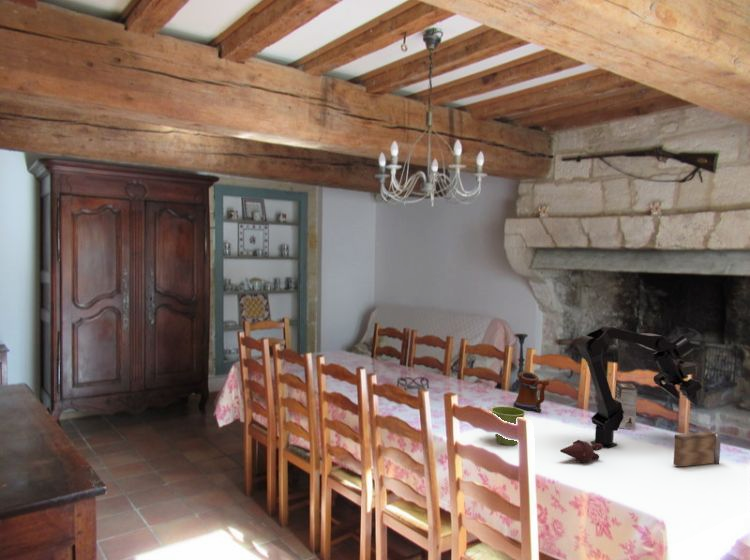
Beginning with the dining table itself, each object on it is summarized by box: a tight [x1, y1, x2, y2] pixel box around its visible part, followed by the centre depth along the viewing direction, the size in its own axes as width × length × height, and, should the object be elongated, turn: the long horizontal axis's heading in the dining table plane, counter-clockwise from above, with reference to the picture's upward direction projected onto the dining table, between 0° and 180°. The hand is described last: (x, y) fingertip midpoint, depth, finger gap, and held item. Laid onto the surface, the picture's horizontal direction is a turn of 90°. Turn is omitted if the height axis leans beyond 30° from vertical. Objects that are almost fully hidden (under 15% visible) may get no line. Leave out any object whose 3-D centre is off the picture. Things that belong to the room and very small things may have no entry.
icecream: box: [559, 439, 604, 464], centre depth 180 cm, size 7×7×15 cm
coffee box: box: [614, 382, 638, 430], centre depth 220 cm, size 9×6×16 cm
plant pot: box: [490, 405, 527, 446], centre depth 196 cm, size 12×12×11 cm
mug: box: [513, 371, 551, 413], centre depth 239 cm, size 18×12×15 cm, turn 24°
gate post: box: [712, 432, 722, 465], centre depth 182 cm, size 2×2×10 cm
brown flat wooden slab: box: [673, 431, 716, 467], centre depth 180 cm, size 14×2×10 cm, turn 107°
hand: (687, 401), depth 201 cm, fingers open, 9 cm apart
